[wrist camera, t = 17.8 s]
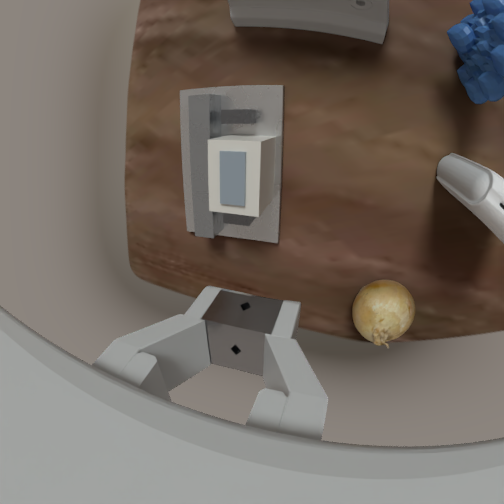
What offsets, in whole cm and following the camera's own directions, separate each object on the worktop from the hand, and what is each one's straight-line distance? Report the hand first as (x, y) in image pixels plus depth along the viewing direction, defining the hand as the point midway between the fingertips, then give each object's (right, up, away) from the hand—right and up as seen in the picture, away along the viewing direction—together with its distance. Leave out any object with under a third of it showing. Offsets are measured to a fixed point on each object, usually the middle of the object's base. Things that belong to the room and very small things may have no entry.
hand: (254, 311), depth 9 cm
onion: (+17, -4, +25) cm, 30 cm away
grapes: (+22, +23, +9) cm, 33 cm away
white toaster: (+6, +28, +12) cm, 31 cm away
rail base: (-2, +12, +23) cm, 26 cm away
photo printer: (+24, +9, +16) cm, 30 cm away
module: (0, +11, +22) cm, 24 cm away
